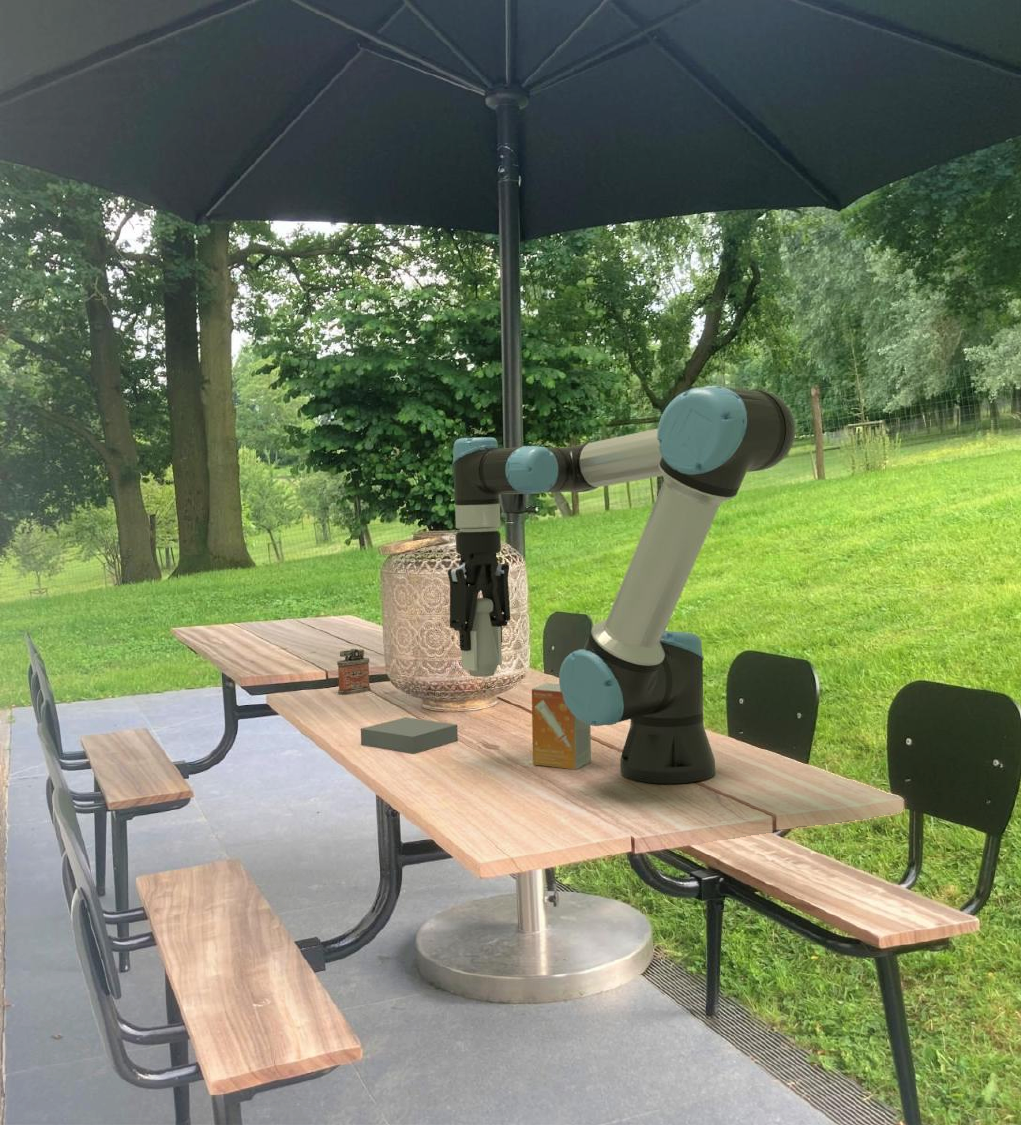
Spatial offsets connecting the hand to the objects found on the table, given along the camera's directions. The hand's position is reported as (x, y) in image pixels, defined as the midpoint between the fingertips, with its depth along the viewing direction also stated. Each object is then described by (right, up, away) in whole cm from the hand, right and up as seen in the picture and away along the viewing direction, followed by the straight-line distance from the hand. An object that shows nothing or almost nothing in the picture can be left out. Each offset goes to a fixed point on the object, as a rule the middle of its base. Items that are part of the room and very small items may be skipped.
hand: (482, 666), depth 200 cm
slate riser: (-14, -15, +17) cm, 27 cm away
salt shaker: (0, -2, 0) cm, 2 cm away
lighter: (-31, -12, +71) cm, 79 cm away
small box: (+13, -16, -1) cm, 21 cm away
